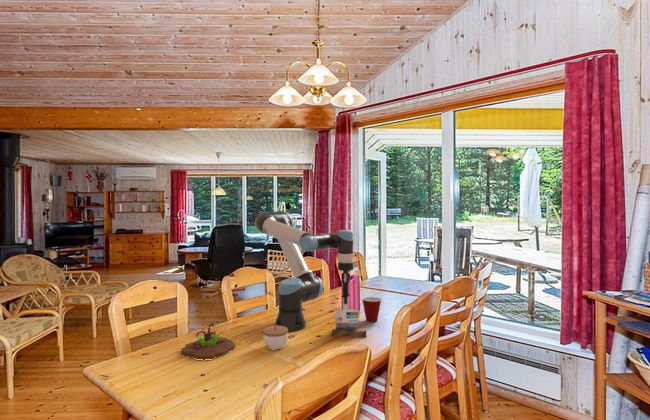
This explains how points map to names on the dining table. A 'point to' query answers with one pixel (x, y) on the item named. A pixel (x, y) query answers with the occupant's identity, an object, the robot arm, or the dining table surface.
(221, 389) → the dining table surface
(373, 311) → the plastic cup
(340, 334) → the walnut stop rail
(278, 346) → the lidded jar
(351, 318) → the light bulb box
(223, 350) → the plant
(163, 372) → the dining table surface
